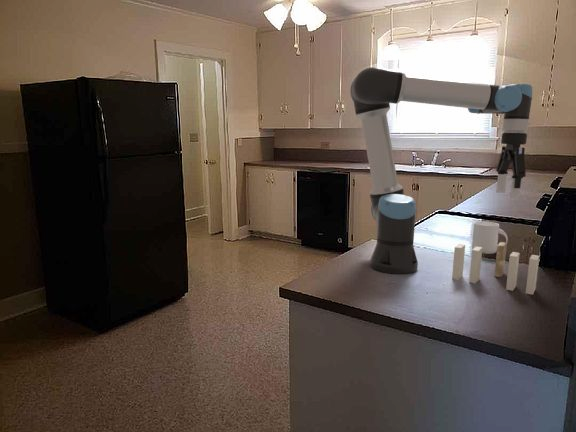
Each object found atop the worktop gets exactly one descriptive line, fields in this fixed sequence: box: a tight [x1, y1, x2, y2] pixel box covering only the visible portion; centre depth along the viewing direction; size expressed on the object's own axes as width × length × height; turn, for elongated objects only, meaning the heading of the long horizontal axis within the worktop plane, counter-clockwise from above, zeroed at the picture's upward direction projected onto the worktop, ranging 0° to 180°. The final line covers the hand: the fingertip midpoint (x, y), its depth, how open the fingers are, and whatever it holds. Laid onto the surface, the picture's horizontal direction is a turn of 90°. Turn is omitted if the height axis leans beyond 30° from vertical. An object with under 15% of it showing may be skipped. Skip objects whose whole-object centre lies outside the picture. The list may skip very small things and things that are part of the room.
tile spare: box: [493, 241, 508, 278], centre depth 136 cm, size 2×5×10 cm, turn 144°
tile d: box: [525, 254, 540, 295], centre depth 121 cm, size 2×5×10 cm, turn 144°
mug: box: [471, 220, 509, 255], centre depth 162 cm, size 9×12×11 cm
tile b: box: [468, 246, 483, 284], centre depth 130 cm, size 2×5×10 cm, turn 144°
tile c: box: [505, 251, 521, 292], centre depth 124 cm, size 2×5×10 cm, turn 144°
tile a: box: [451, 243, 466, 281], centre depth 133 cm, size 2×5×10 cm, turn 144°
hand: (507, 195), depth 150 cm, fingers open, 13 cm apart
